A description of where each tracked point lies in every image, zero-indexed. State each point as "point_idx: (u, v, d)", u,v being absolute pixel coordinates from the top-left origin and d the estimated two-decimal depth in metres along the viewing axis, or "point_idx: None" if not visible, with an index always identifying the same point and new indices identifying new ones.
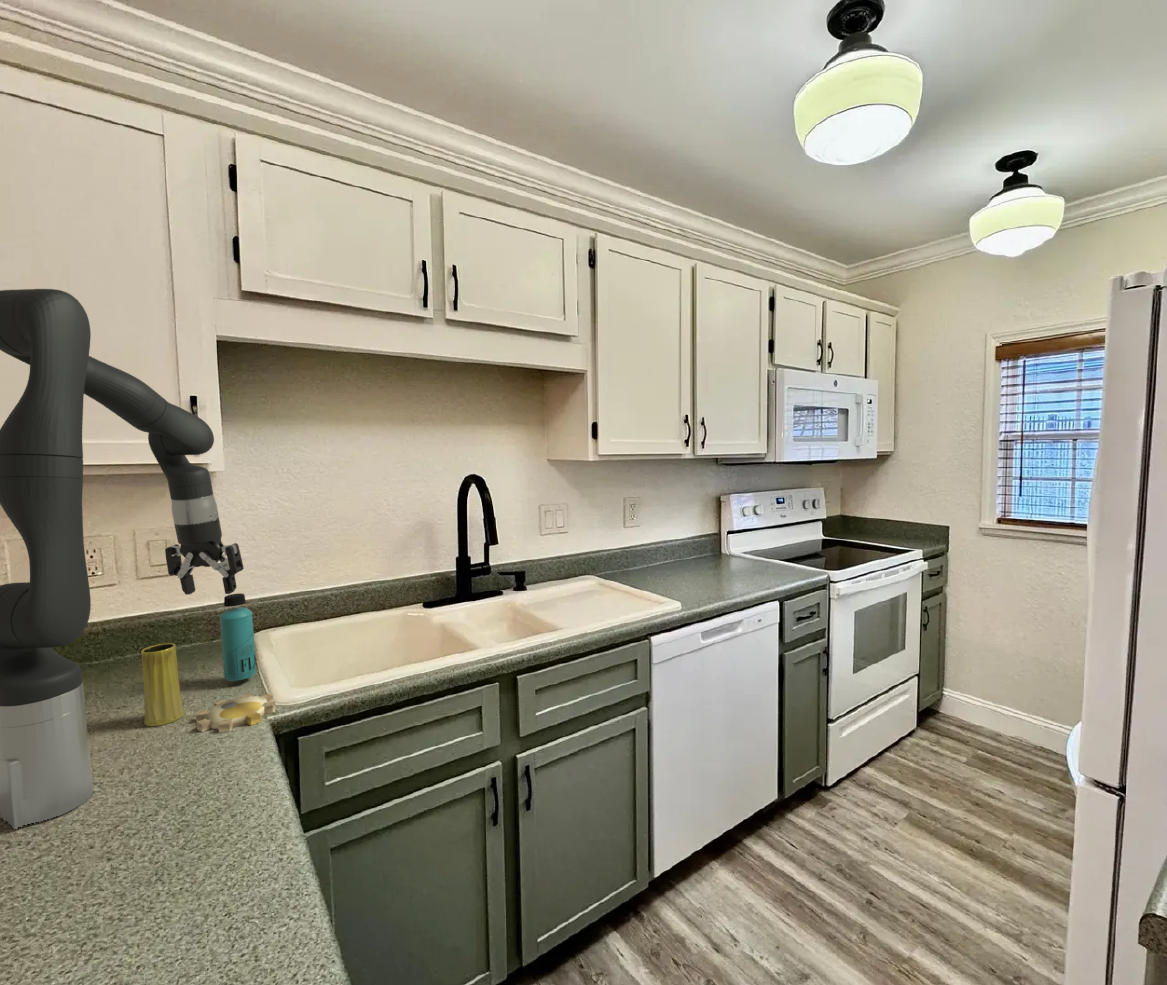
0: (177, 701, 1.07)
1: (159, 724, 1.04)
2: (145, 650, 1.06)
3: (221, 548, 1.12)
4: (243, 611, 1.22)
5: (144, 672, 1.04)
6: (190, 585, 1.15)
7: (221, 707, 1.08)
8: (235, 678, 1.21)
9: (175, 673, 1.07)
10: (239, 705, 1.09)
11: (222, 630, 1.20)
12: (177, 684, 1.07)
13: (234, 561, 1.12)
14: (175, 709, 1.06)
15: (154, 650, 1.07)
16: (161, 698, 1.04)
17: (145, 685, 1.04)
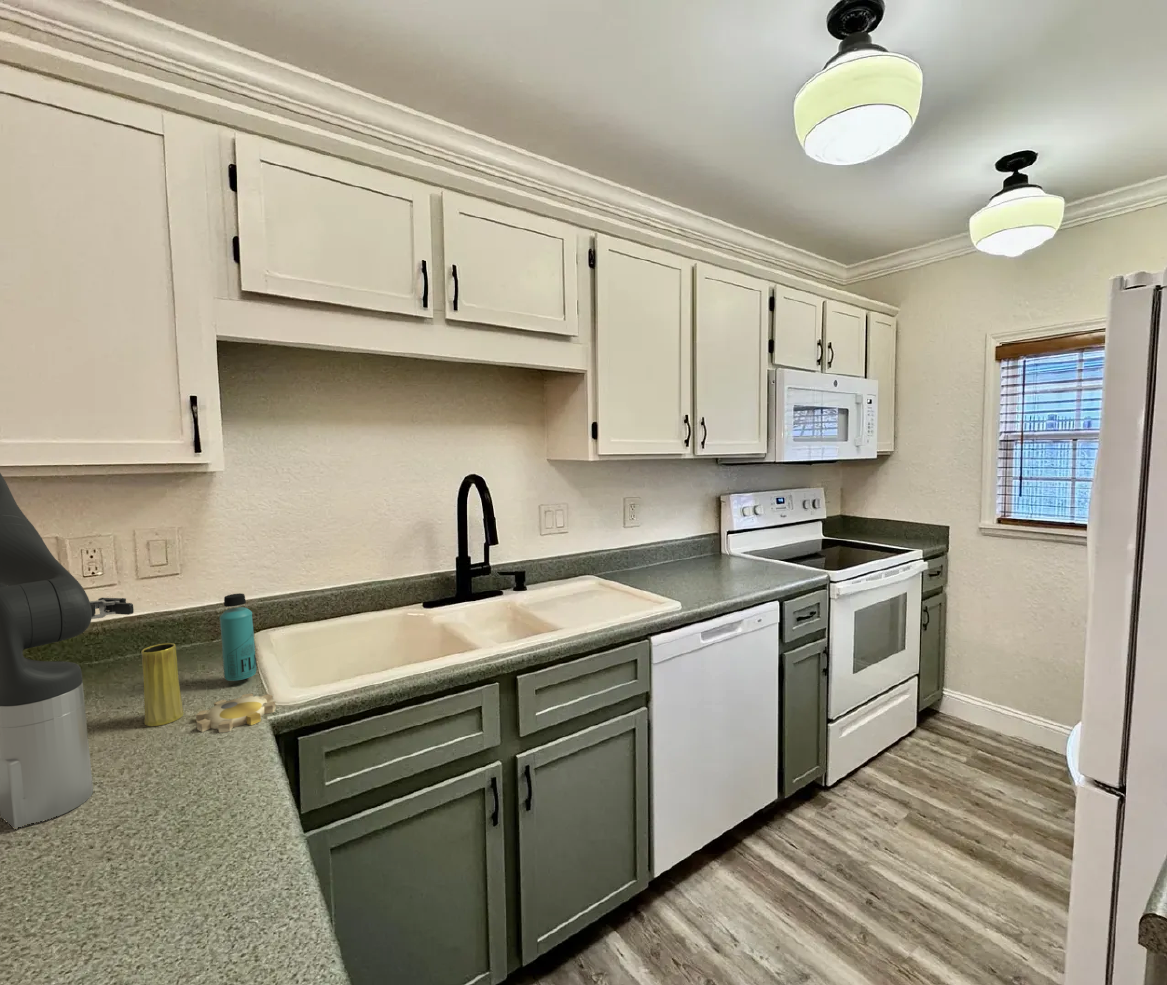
0: (177, 701, 1.07)
1: (159, 724, 1.04)
2: (145, 650, 1.06)
3: None
4: (243, 611, 1.22)
5: (144, 672, 1.04)
6: None
7: (221, 707, 1.08)
8: (235, 678, 1.21)
9: (175, 673, 1.07)
10: (239, 705, 1.09)
11: (222, 630, 1.20)
12: (177, 684, 1.07)
13: None
14: (175, 709, 1.06)
15: (154, 650, 1.07)
16: (161, 698, 1.04)
17: (145, 685, 1.04)
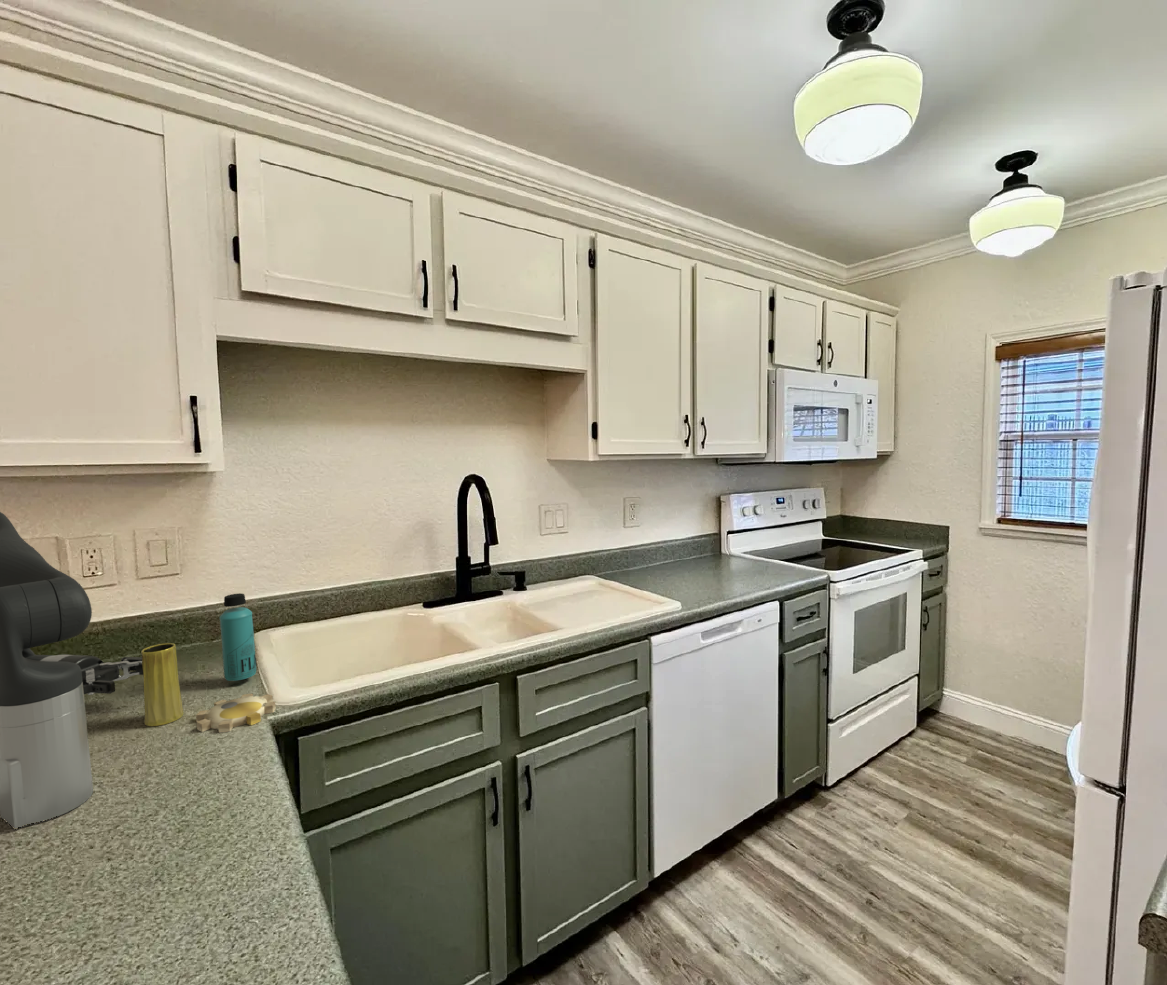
0: (177, 701, 1.07)
1: (159, 724, 1.04)
2: (145, 650, 1.06)
3: None
4: (243, 611, 1.22)
5: (144, 672, 1.04)
6: None
7: (221, 707, 1.08)
8: (235, 678, 1.21)
9: (175, 673, 1.07)
10: (239, 705, 1.09)
11: (222, 630, 1.20)
12: (177, 684, 1.07)
13: None
14: (175, 709, 1.06)
15: (154, 650, 1.07)
16: (161, 698, 1.04)
17: (145, 685, 1.04)
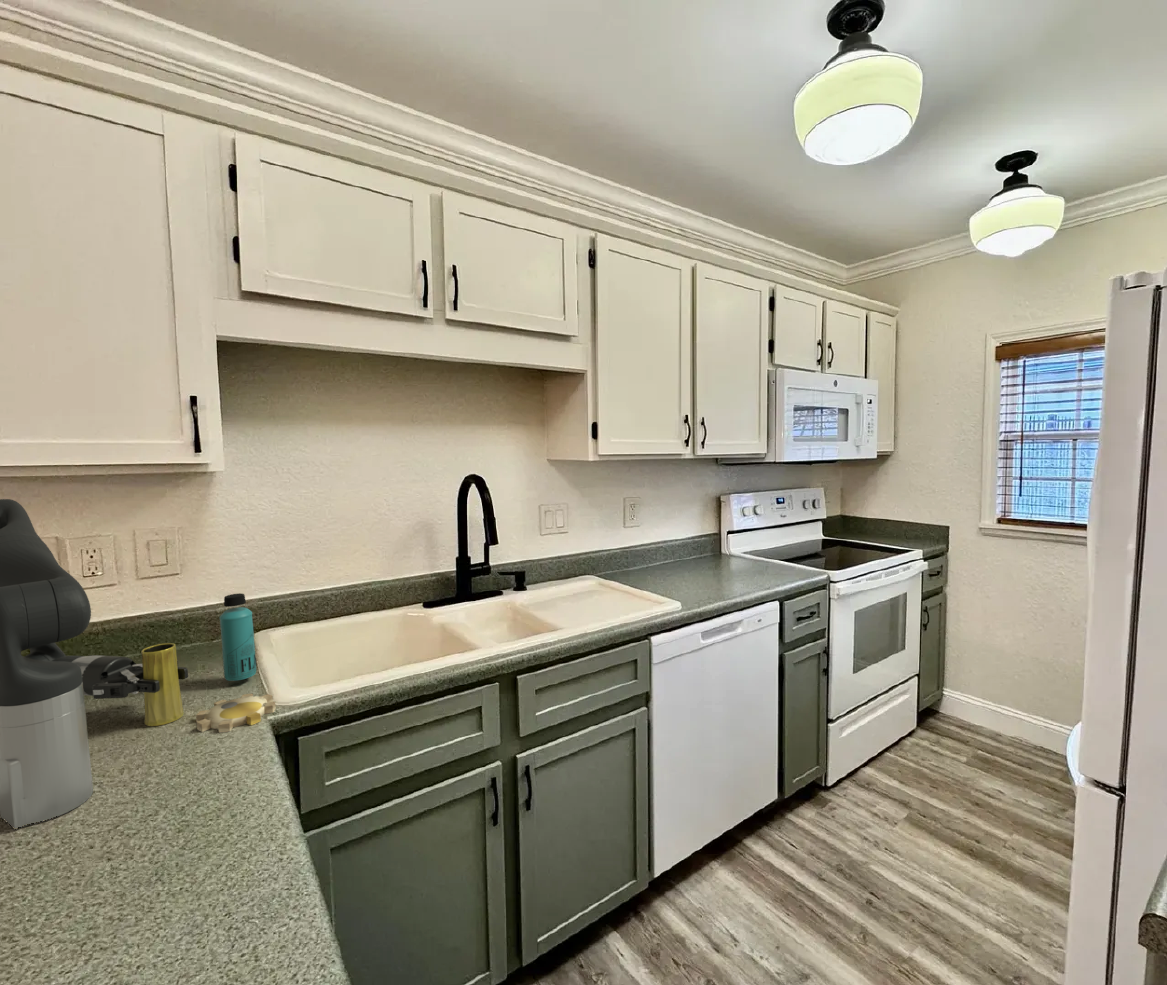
0: (177, 701, 1.07)
1: (159, 724, 1.04)
2: (145, 650, 1.06)
3: None
4: (243, 611, 1.22)
5: (144, 672, 1.04)
6: None
7: (221, 707, 1.08)
8: (235, 678, 1.21)
9: (175, 673, 1.07)
10: (239, 705, 1.09)
11: (222, 630, 1.20)
12: (177, 684, 1.07)
13: None
14: (175, 709, 1.06)
15: (154, 650, 1.07)
16: (162, 698, 1.04)
17: None
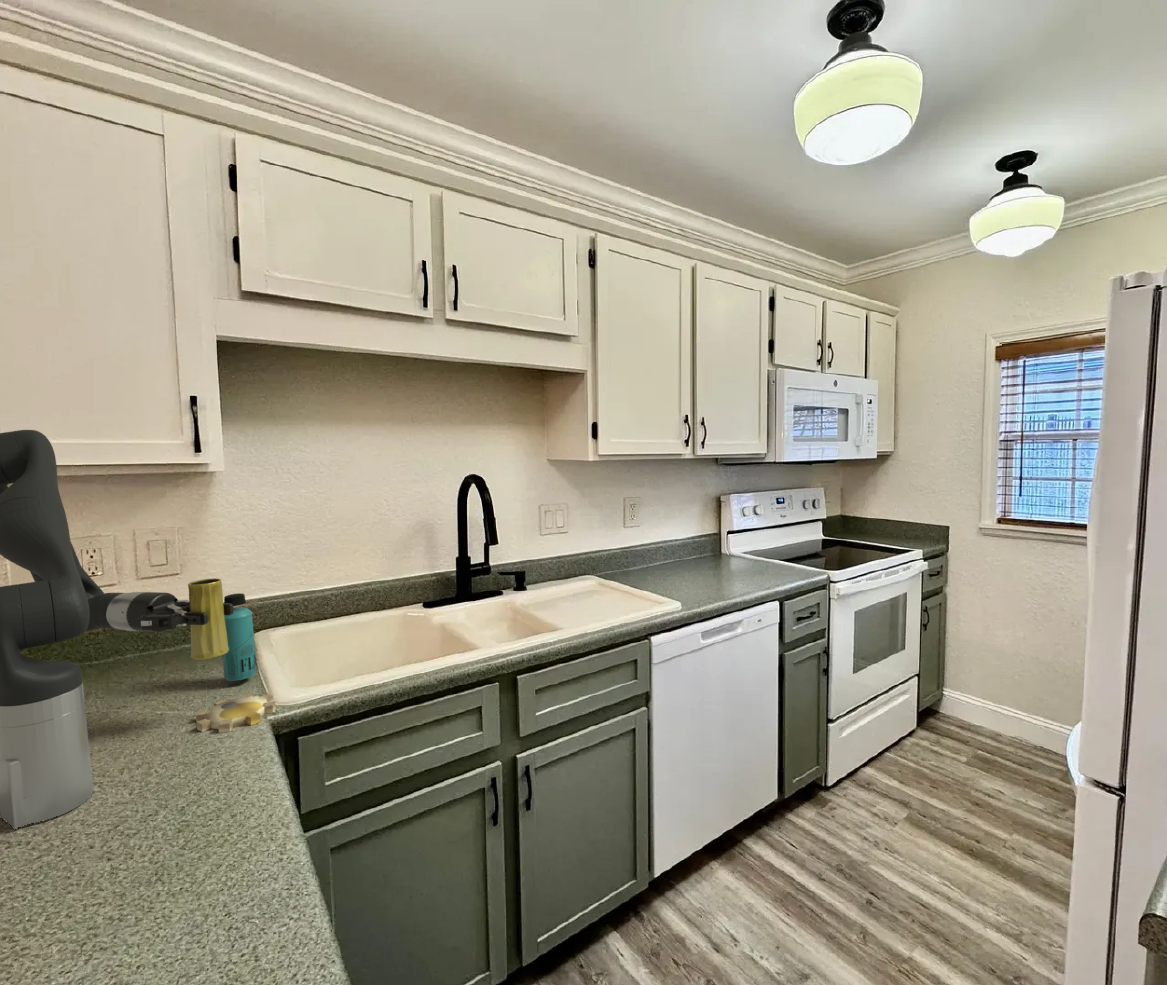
0: (223, 636, 1.06)
1: (206, 657, 1.03)
2: (191, 584, 1.04)
3: None
4: (243, 611, 1.22)
5: (191, 605, 1.03)
6: None
7: (221, 707, 1.08)
8: (235, 678, 1.21)
9: (221, 607, 1.06)
10: (239, 705, 1.09)
11: None
12: (223, 619, 1.06)
13: None
14: (221, 644, 1.05)
15: None
16: (209, 631, 1.03)
17: None
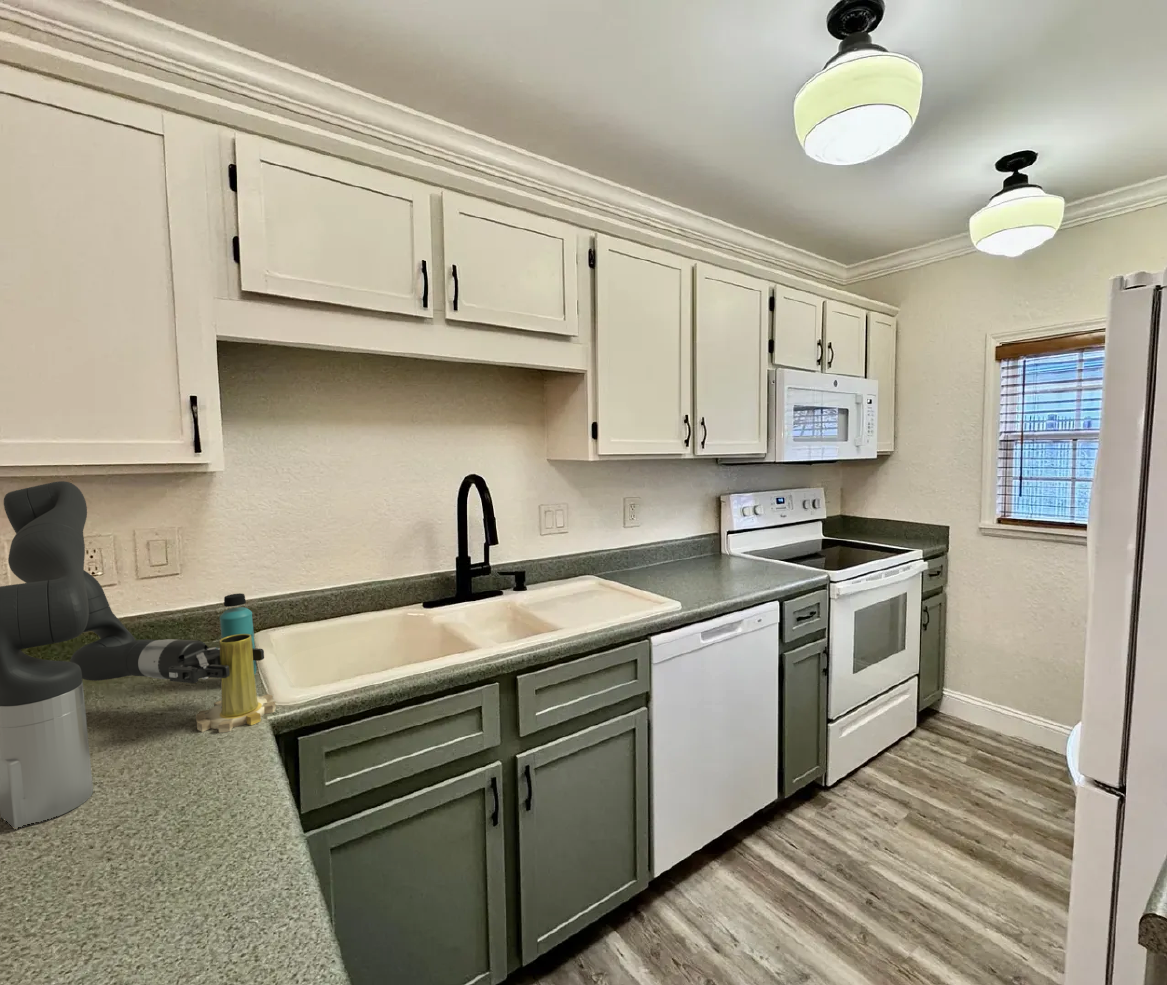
0: (253, 692, 1.06)
1: (236, 714, 1.04)
2: (222, 640, 1.05)
3: None
4: (243, 611, 1.22)
5: (222, 662, 1.04)
6: None
7: (221, 707, 1.08)
8: None
9: (251, 664, 1.06)
10: None
11: (222, 630, 1.20)
12: (253, 675, 1.07)
13: None
14: (251, 700, 1.06)
15: (230, 640, 1.07)
16: (239, 689, 1.04)
17: None
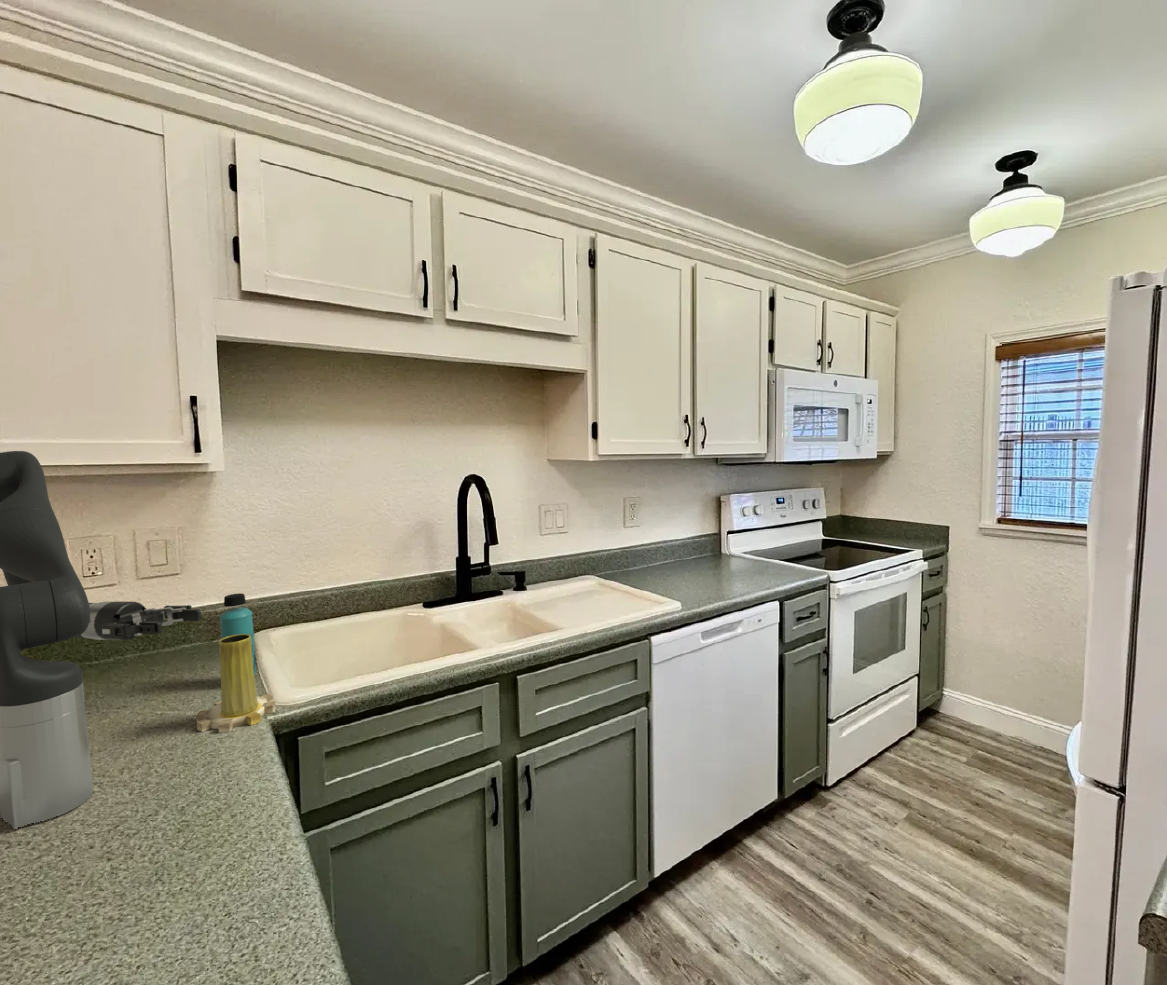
0: (253, 692, 1.06)
1: (236, 715, 1.04)
2: (222, 641, 1.05)
3: None
4: (243, 611, 1.22)
5: (222, 662, 1.03)
6: None
7: (221, 707, 1.08)
8: None
9: (251, 664, 1.06)
10: None
11: (222, 630, 1.20)
12: (253, 675, 1.07)
13: None
14: (251, 700, 1.06)
15: (229, 641, 1.07)
16: (239, 689, 1.04)
17: (223, 676, 1.04)
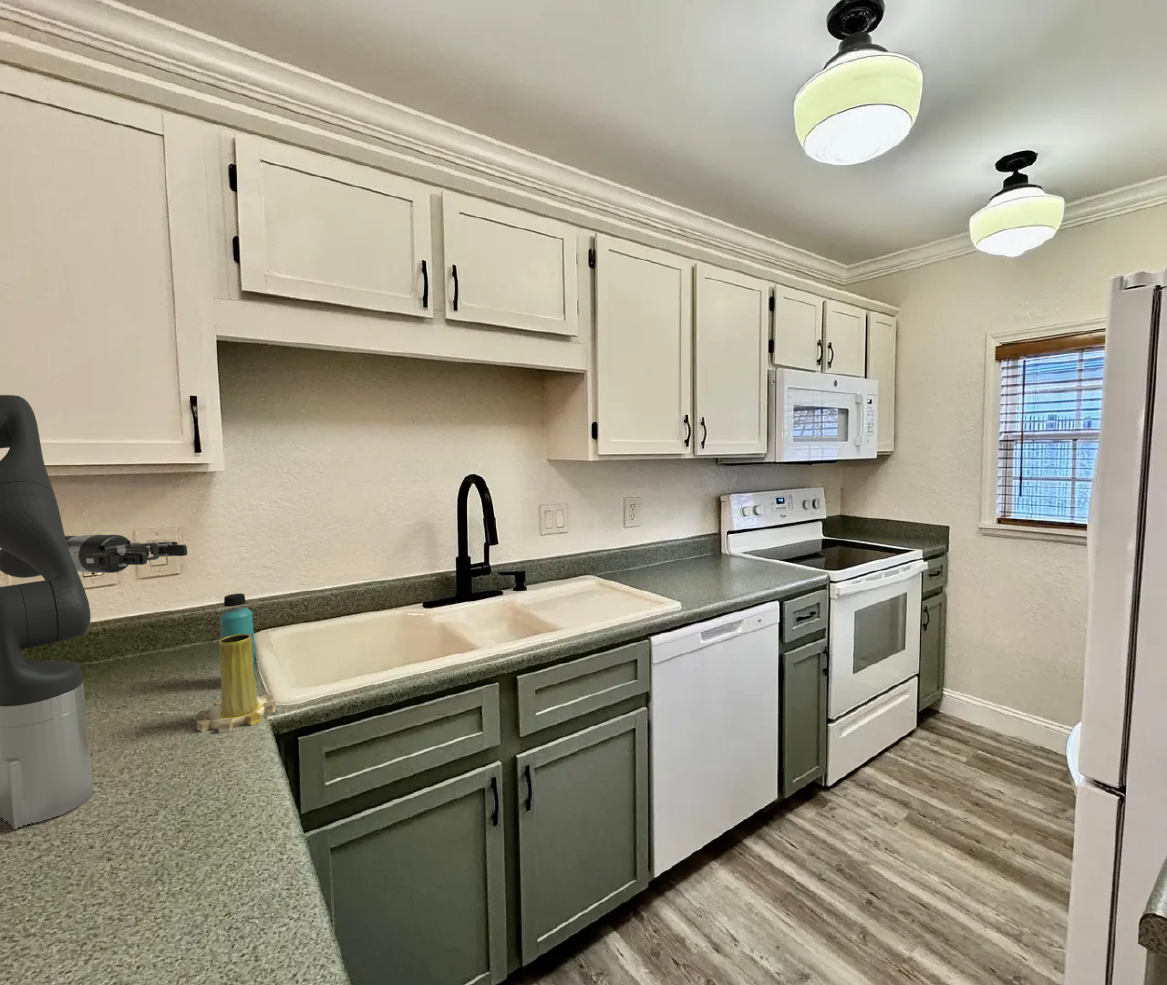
0: (253, 692, 1.06)
1: (236, 715, 1.04)
2: (222, 640, 1.05)
3: None
4: (243, 611, 1.22)
5: (222, 662, 1.03)
6: None
7: (221, 707, 1.08)
8: None
9: (251, 664, 1.06)
10: None
11: (222, 630, 1.20)
12: (253, 675, 1.07)
13: None
14: (251, 700, 1.06)
15: (229, 641, 1.07)
16: (239, 689, 1.04)
17: (223, 675, 1.04)
